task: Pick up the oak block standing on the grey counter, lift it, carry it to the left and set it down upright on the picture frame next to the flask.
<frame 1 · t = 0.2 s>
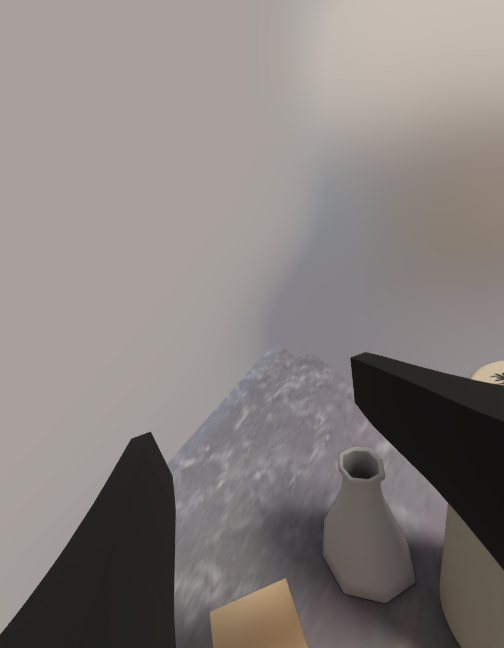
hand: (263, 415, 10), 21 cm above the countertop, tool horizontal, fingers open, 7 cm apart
flask: (364, 551, 24), on the countertop
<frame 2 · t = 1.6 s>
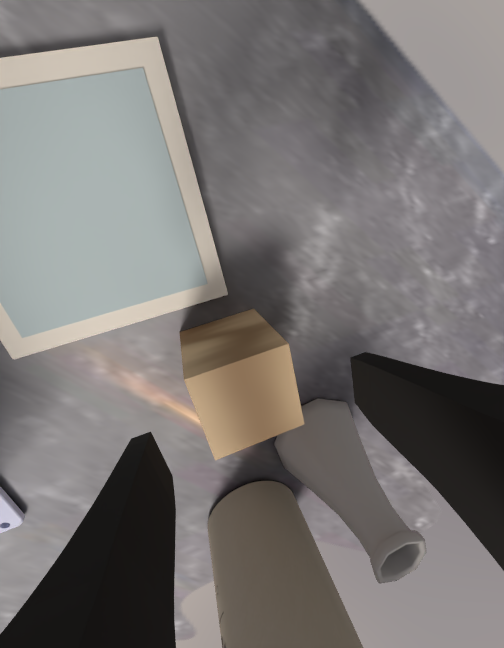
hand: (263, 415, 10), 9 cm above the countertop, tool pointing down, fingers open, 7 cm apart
flask: (312, 431, 24), on the countertop
travel mug: (251, 510, 25), on the countertop
oak block: (227, 352, 19), on the countertop
picture frame: (82, 214, 14), on the countertop
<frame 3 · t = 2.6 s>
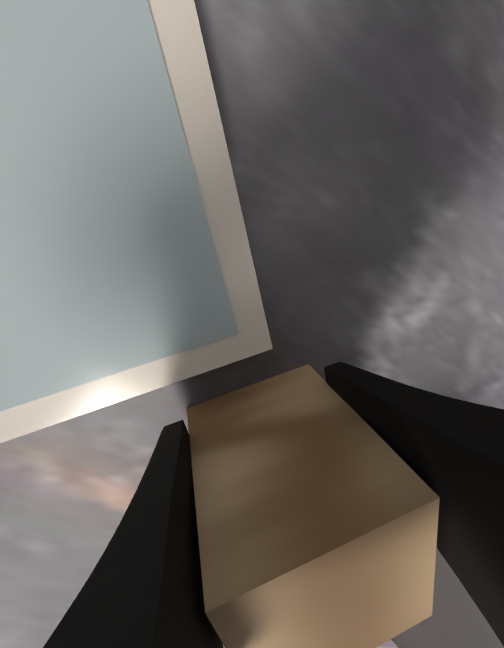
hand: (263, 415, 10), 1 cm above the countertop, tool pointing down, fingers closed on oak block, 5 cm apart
flask: (374, 522, 17), on the countertop
oak block: (263, 432, 12), on the countertop, touching gripper
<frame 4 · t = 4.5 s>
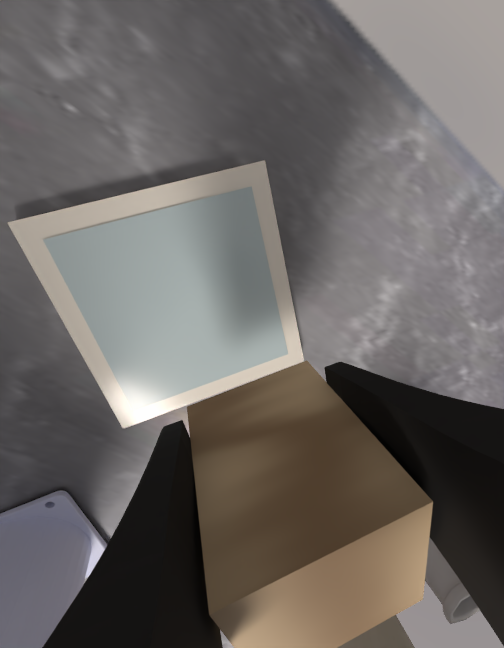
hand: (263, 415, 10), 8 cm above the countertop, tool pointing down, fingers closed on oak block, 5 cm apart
flask: (362, 468, 26), on the countertop
travel mug: (305, 540, 27), on the countertop
oak block: (262, 427, 12), point 7 cm above the countertop, touching gripper
picture frame: (186, 302, 16), on the countertop
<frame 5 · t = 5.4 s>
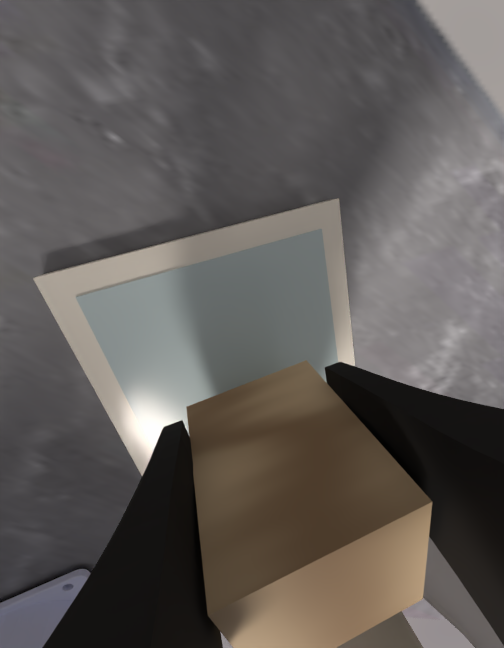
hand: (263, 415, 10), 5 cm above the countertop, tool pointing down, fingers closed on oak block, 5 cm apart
flask: (405, 519, 23), on the countertop
travel mug: (339, 596, 24), on the countertop
oak block: (262, 427, 12), point 3 cm above the countertop, touching gripper
picture frame: (234, 358, 14), on the countertop
when the fingers open (4 cm above the countertop, at t = 6.1 s): oak block stays where it is, resting on picture frame.
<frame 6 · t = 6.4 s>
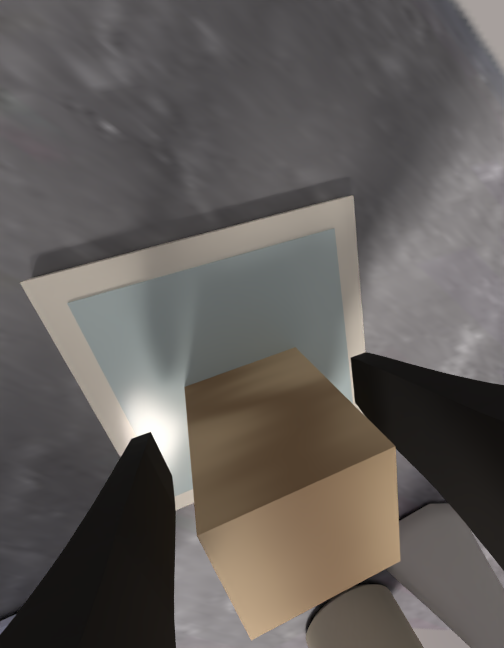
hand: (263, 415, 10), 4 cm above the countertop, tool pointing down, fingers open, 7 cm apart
flask: (415, 530, 22), on the countertop
travel mug: (346, 609, 24), on the countertop
oak block: (255, 411, 13), point 1 cm above the countertop, touching picture frame
picture frame: (239, 366, 13), on the countertop
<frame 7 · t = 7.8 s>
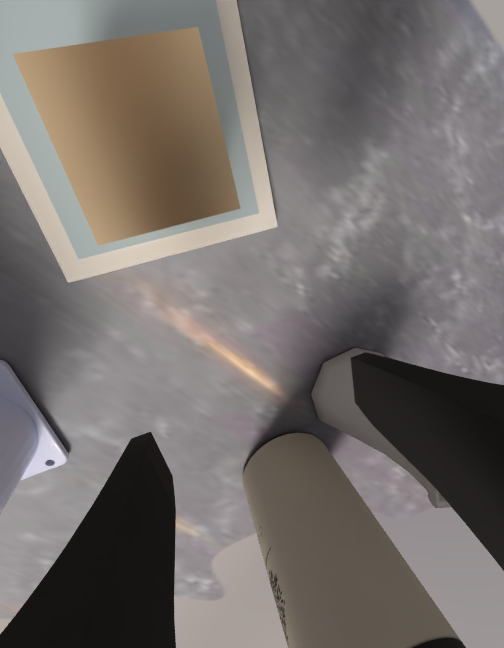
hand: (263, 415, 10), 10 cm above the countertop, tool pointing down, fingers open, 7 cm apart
flask: (347, 383, 24), on the countertop
travel mug: (284, 465, 25), on the countertop
oak block: (154, 174, 14), point 1 cm above the countertop, touching picture frame
picture frame: (140, 134, 14), on the countertop
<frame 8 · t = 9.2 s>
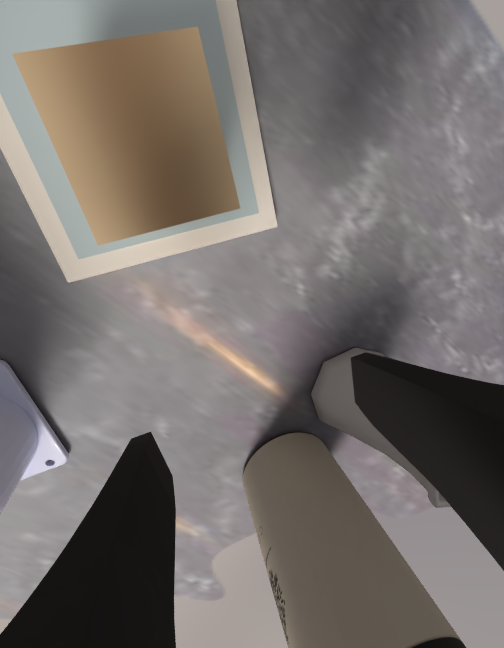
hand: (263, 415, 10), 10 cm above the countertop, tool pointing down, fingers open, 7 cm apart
flask: (347, 383, 24), on the countertop
travel mug: (284, 465, 25), on the countertop
oak block: (154, 174, 14), point 1 cm above the countertop, touching picture frame
picture frame: (140, 133, 14), on the countertop
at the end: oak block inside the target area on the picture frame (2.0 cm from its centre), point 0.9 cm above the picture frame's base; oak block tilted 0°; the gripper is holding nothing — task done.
